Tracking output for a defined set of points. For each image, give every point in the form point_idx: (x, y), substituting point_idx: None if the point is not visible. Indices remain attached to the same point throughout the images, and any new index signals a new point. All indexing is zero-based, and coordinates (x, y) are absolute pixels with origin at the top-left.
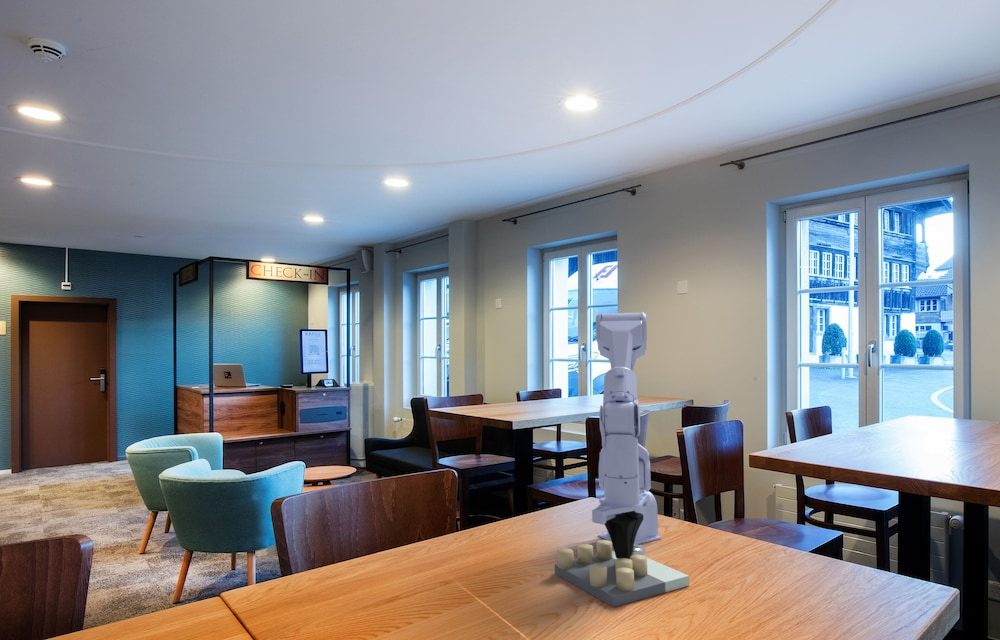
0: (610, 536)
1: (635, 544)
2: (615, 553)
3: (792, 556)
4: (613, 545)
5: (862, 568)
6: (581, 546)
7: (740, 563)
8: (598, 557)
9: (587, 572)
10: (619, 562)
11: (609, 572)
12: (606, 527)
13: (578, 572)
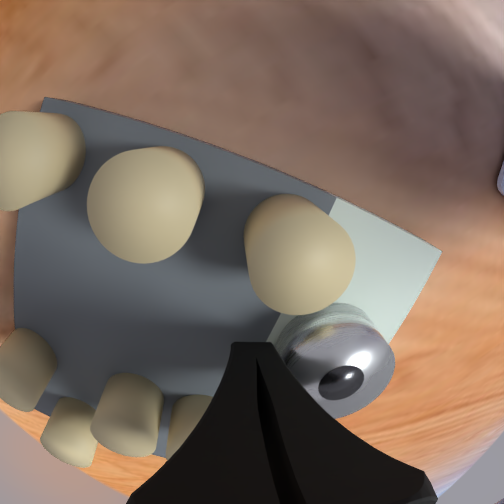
0: (203, 416)
1: (389, 366)
2: (229, 356)
3: (484, 442)
4: (223, 379)
5: (449, 485)
6: (120, 188)
7: (449, 433)
8: (246, 222)
9: (63, 276)
10: (98, 431)
11: (130, 343)
12: (169, 462)
13: (39, 245)
